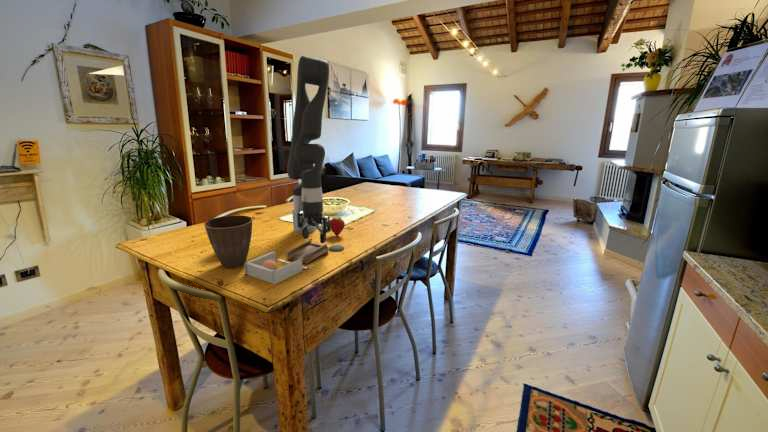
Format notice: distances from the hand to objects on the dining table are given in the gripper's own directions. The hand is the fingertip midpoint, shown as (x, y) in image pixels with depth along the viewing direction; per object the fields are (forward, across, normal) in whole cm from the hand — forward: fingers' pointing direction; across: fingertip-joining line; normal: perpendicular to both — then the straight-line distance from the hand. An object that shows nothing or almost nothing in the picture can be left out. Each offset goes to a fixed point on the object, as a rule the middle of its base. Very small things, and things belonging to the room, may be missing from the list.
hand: (314, 240), depth 128 cm
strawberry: (+5, -6, +21) cm, 22 cm away
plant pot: (+5, -17, -23) cm, 29 cm away
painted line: (+5, 0, -12) cm, 13 cm away
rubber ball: (+3, 0, -22) cm, 22 cm away
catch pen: (+5, 0, -20) cm, 21 cm away
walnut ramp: (+5, 0, -4) cm, 6 cm away
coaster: (+5, +4, +8) cm, 10 cm away
